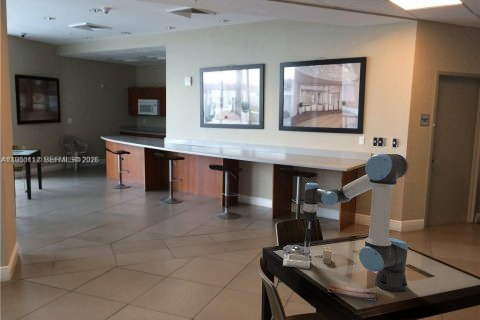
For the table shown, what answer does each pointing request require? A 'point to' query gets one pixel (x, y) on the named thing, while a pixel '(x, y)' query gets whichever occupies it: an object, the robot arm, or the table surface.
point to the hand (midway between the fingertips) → (306, 251)
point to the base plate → (296, 260)
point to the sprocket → (295, 250)
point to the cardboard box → (327, 255)
